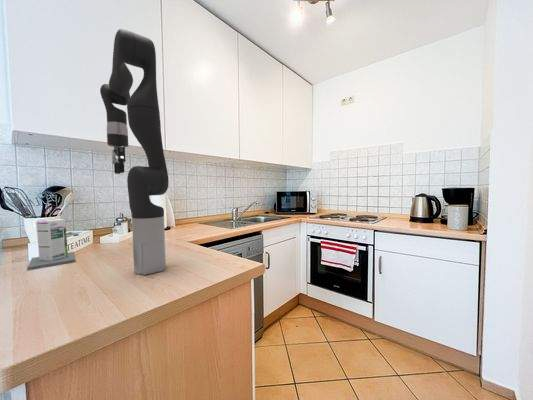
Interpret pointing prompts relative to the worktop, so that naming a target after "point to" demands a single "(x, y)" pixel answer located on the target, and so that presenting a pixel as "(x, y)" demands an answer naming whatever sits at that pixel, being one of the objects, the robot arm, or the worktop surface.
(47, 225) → the syrup box
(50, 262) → the mat
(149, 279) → the worktop surface
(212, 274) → the worktop surface
